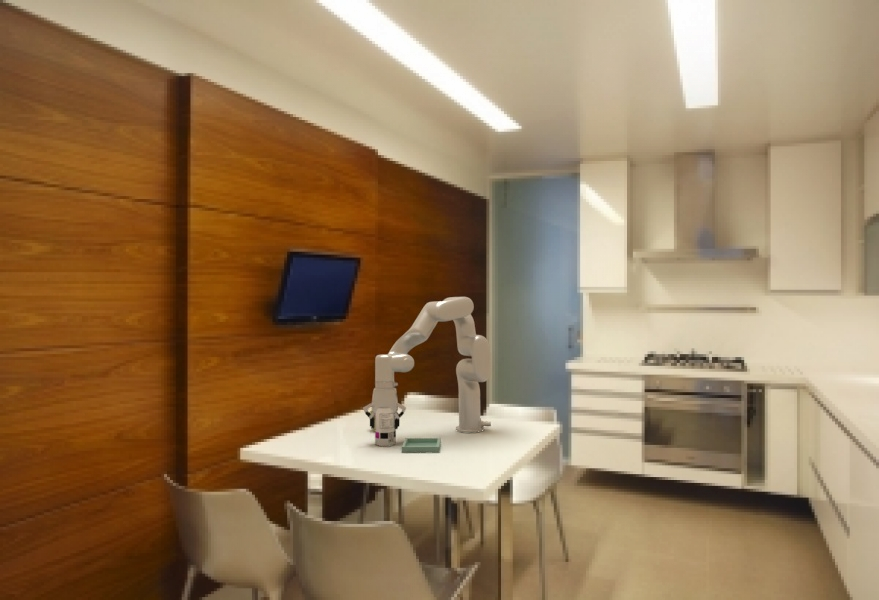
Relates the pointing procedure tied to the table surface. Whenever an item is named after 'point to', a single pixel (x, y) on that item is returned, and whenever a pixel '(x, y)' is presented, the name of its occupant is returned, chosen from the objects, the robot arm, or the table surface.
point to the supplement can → (385, 427)
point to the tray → (421, 445)
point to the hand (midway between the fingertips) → (384, 428)
